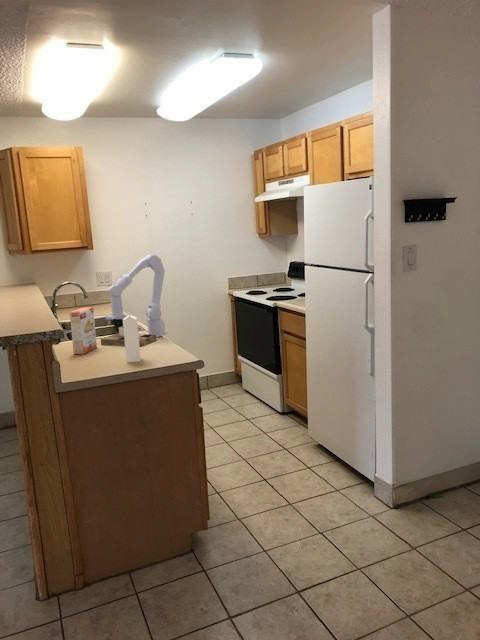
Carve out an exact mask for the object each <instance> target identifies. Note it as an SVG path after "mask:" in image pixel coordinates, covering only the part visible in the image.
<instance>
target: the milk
mask: <svg viewBox="0 0 480 640" xmlns="http://www.w3.org/2000/svg"><path fill="white" fill-rule="evenodd" d="M126 316H127V317H125V318H124V319H123V329H124V340H125V346H124V347H125V355H126V356H125V358H126V363H135V362H136V363H137V362H141V358H142V357H141V347H140V346H139V335H138V334H139V328H138V327H139V326H138V325H139V324H138V317H137V316H135V315H132V314H131V312H130V311H128V315H126Z"/></svg>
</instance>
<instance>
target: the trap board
mask: <svg viewBox="0 0 480 640" xmlns="http://www.w3.org/2000/svg"><path fill="white" fill-rule="evenodd" d="M138 335H139V346H140V348H141V347H143V346H147V345H148V344H151V343H153V342H155V341H157V337H156V335H152V334H149V333H146V334H145V333H138ZM100 345H101V346H113V345H115V347H125V340H124V336H119V334H117V333H114V334H113V335H112V334H111V335H109V336H107V337H104V338H100Z"/></svg>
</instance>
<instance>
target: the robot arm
mask: <svg viewBox="0 0 480 640" xmlns="http://www.w3.org/2000/svg"><path fill="white" fill-rule="evenodd" d="M146 268H151V270H152V271H153V272H154V276H153V283H152V287H151V288H152V290H151V295H150V300H149V303H148V307H147V308H146V310H145V315H146V316H147V320H146V321H147V322H146V323H147V332H148V333H147V334H152V335H156V338H159V337H162V336H164V335H166V334H168V333H167V332H166V326H165V325H166V324H165V320H164V319H163V318H161V317H162V311H161V296H162V290H163V285H164V284H163V283H164V277H165V268H164V265H163V263H162V259H161V258H160V257H159V256H158V255H156V254H151V253H148V254H146V255H145V256H144V257H142V258H141V259H140V260H139V261H138V263H137V264H136V265H135V266H134V267H133V268H132V269H131V270H130V271H129V272H128V273H126V274H121V275H120V276H119V277H120V278H119V279H118V280H117V281H116V282H113V285H110V287H109V289H108V293H109V295H110V305H111V306H110V308H111V315H106V316H105V320H106V321H109V320H112V321H111V323H112V325H113V326H114V328H115V331H116V334H119V327H122V326H123V319H124V318H125V317H127V316H128V315H124V308H123V307H124V306H123V299H122V294H123V291H125V290H126V288H128V287H129V286H130V285H131V284H132V283H133V278H134V277H135V276H137V275H138V273H140V272H141V271H142V270H143V269H146Z"/></svg>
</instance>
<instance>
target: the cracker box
mask: <svg viewBox="0 0 480 640" xmlns="http://www.w3.org/2000/svg"><path fill="white" fill-rule="evenodd" d="M69 319H70V329H71V339H72V340H71V341H72V349H73V351H72V352H73V355H85V354H88V353H89V352H91V351H92V350H95V349H97V348H98V346H97V343H98V342H97V335H96V324H95V323H96V322H95V321H96V320H95V311H94V307H90V306H89V307H81V308H79V309H75V310H72V311H69Z"/></svg>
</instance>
